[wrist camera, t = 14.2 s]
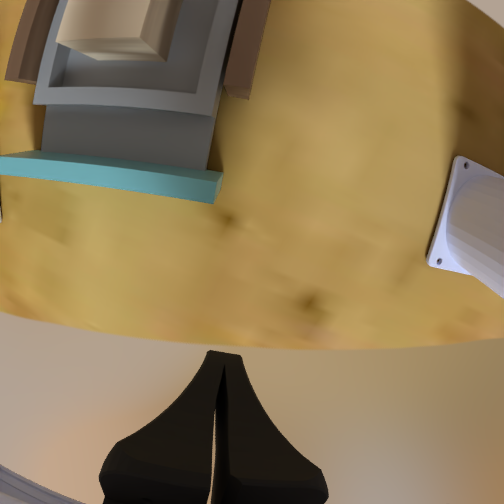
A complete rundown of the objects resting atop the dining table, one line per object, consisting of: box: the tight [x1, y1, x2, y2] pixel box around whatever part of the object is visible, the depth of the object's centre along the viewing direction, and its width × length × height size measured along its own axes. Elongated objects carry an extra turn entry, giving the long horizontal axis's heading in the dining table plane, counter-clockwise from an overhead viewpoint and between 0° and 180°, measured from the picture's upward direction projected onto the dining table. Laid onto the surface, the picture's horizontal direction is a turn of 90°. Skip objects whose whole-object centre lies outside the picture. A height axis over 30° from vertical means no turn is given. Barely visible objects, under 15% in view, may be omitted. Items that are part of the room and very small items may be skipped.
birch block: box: [56, 0, 183, 62], centre depth 12 cm, size 4×4×5 cm
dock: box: [5, 0, 271, 99], centre depth 13 cm, size 14×10×4 cm
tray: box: [0, 0, 243, 204], centre depth 14 cm, size 13×14×4 cm
